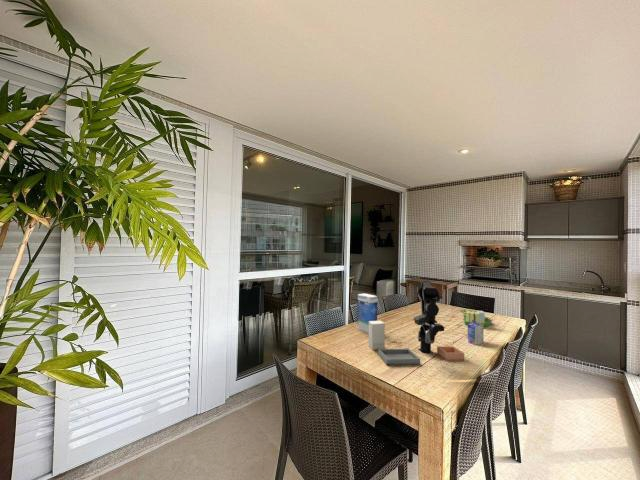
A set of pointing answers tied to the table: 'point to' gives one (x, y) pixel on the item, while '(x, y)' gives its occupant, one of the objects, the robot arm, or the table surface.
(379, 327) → the skincare box
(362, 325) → the blue white lidded canister
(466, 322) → the toy landscape diorama
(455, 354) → the bin
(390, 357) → the tray
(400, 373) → the table surface
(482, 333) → the ink cartridge box
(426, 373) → the table surface
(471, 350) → the table surface
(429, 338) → the battery cell
